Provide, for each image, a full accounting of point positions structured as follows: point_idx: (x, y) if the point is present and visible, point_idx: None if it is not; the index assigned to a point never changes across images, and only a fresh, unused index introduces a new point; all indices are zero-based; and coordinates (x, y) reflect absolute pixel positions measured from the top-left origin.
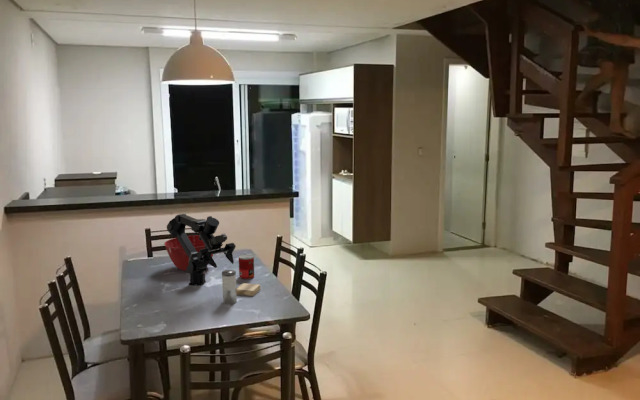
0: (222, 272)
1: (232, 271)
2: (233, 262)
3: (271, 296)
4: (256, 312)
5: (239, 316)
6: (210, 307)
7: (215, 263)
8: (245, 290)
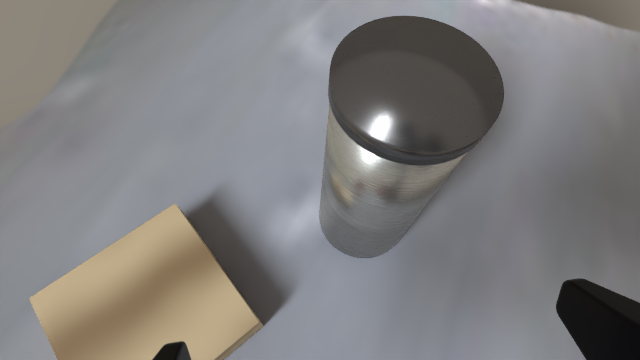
0: (495, 96)
1: (371, 65)
2: (174, 343)
3: (112, 145)
4: (314, 25)
5: None
6: (498, 198)
7: (630, 316)
8: (209, 252)
